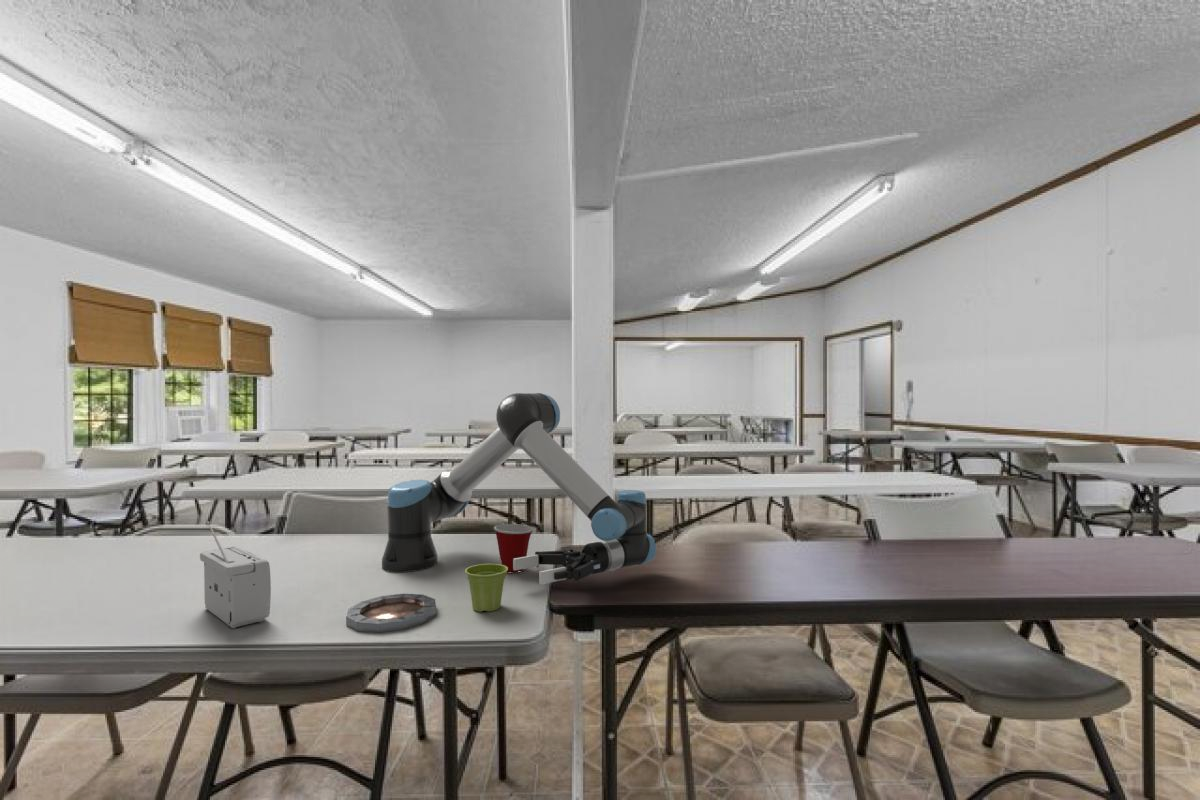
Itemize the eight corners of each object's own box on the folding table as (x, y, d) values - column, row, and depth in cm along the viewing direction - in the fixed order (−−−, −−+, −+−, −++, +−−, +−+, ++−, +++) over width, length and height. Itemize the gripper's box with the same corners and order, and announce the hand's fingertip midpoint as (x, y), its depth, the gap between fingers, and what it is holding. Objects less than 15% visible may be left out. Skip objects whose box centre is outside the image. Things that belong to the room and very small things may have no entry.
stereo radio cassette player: (272, 621, 125) (271, 527, 125) (228, 632, 119) (227, 534, 119) (239, 600, 139) (238, 515, 139) (198, 609, 133) (198, 521, 133)
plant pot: (489, 597, 138) (489, 561, 138) (516, 606, 132) (516, 567, 132) (456, 609, 131) (456, 570, 131) (484, 618, 125) (483, 577, 125)
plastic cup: (533, 575, 156) (533, 530, 156) (492, 576, 154) (492, 531, 154) (534, 564, 166) (533, 521, 166) (495, 565, 165) (495, 523, 165)
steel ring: (351, 607, 132) (350, 599, 133) (433, 597, 138) (433, 590, 138) (343, 637, 115) (343, 628, 115) (438, 625, 121) (438, 616, 121)
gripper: (631, 583, 138) (552, 601, 126) (576, 560, 159) (504, 574, 147) (631, 551, 138) (551, 566, 126) (576, 533, 159) (504, 544, 147)
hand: (526, 571), depth 137 cm, fingers open, 13 cm apart
